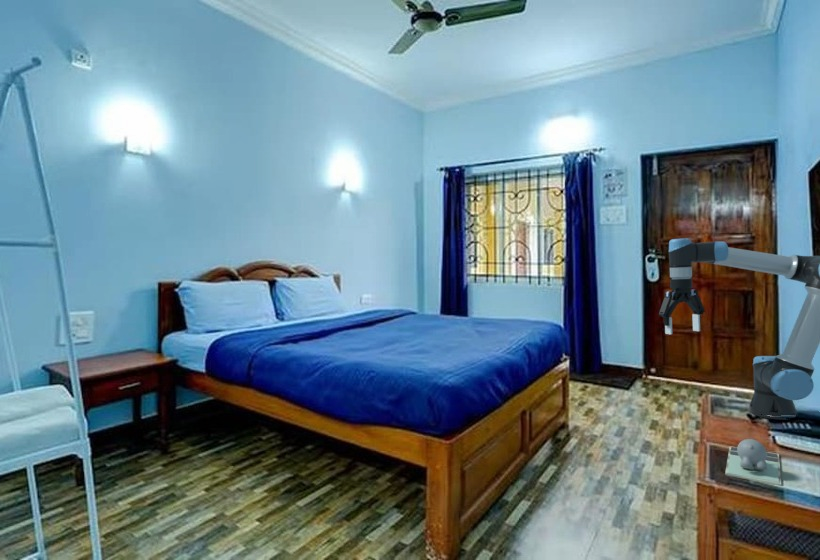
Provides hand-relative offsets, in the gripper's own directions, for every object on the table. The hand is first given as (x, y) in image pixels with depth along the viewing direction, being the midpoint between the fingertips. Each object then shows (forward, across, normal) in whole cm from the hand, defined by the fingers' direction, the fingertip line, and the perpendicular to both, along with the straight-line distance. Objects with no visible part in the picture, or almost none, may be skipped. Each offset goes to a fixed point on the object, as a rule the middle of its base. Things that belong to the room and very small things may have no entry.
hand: (682, 332), depth 186 cm
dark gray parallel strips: (+34, +9, +34) cm, 49 cm away
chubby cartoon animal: (+34, +18, +41) cm, 56 cm away
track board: (+35, +15, +39) cm, 54 cm away
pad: (+34, +18, +41) cm, 57 cm away
